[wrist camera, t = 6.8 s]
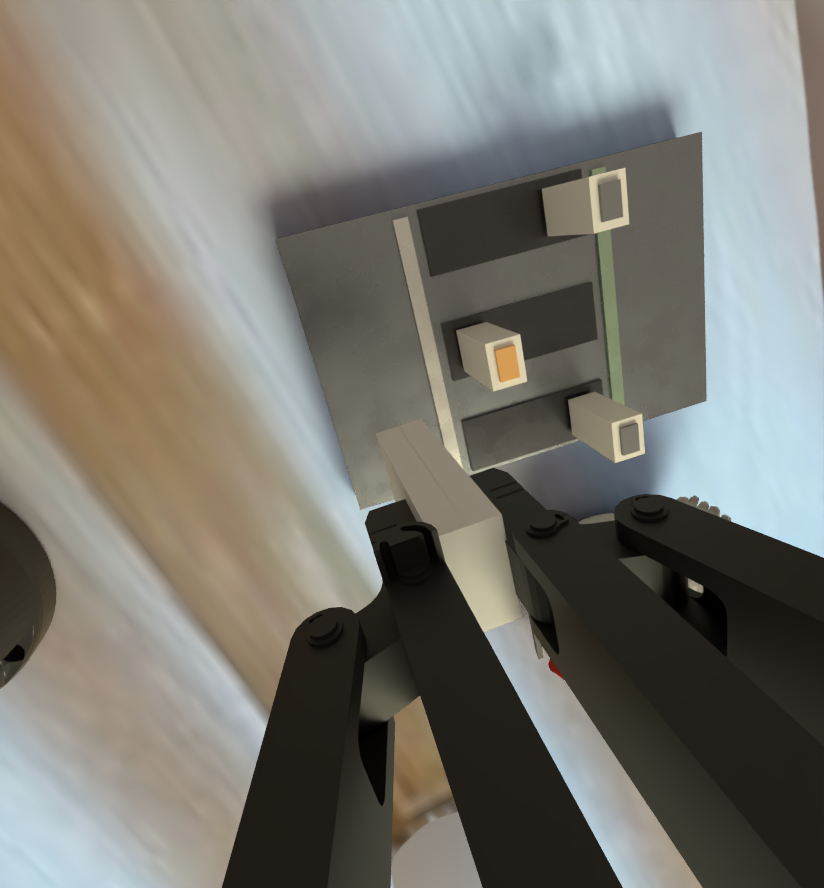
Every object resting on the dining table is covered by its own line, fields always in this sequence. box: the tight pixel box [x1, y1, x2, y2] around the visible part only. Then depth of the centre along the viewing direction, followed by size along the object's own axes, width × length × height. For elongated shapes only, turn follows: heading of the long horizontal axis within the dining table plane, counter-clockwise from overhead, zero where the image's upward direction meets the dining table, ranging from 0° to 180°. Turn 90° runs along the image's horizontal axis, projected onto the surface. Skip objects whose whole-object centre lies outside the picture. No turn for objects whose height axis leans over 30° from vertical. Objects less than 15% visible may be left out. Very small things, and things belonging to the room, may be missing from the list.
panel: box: [276, 132, 706, 510], centre depth 32 cm, size 24×16×2 cm, turn 103°
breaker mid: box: [456, 322, 527, 392], centre depth 28 cm, size 2×2×5 cm
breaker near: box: [542, 168, 629, 236], centre depth 26 cm, size 2×2×5 cm
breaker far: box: [568, 392, 645, 463], centre depth 31 cm, size 2×2×5 cm
